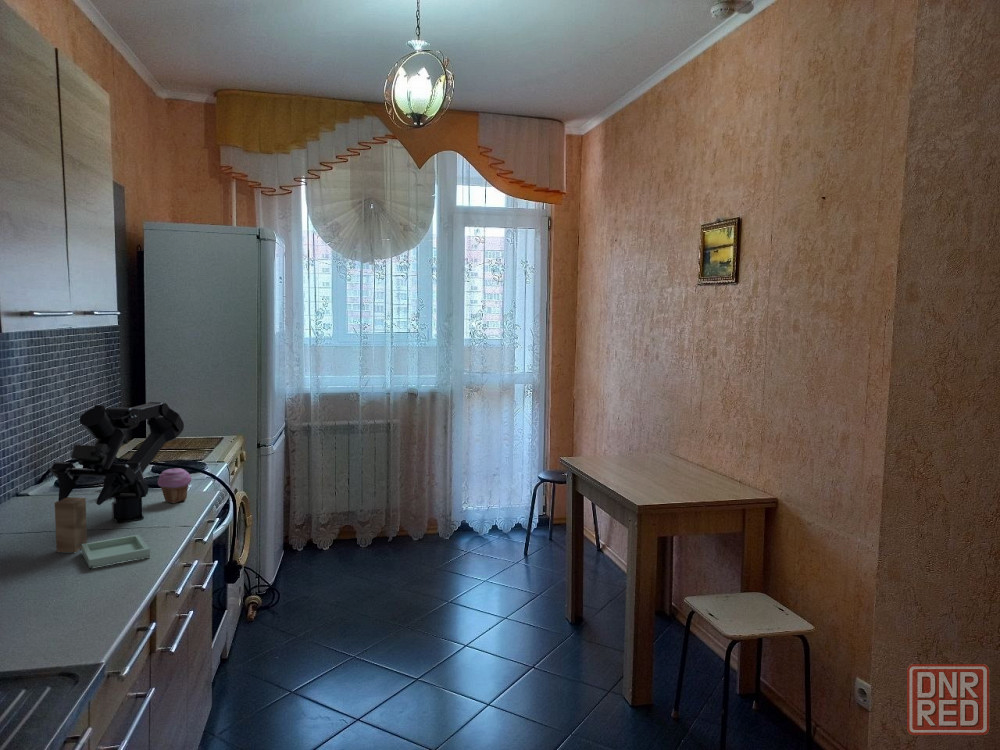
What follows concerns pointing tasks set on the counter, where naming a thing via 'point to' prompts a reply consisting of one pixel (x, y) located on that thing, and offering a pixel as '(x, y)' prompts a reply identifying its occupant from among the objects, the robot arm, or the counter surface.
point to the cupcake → (174, 484)
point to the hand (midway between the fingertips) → (78, 503)
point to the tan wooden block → (70, 524)
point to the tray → (115, 550)
